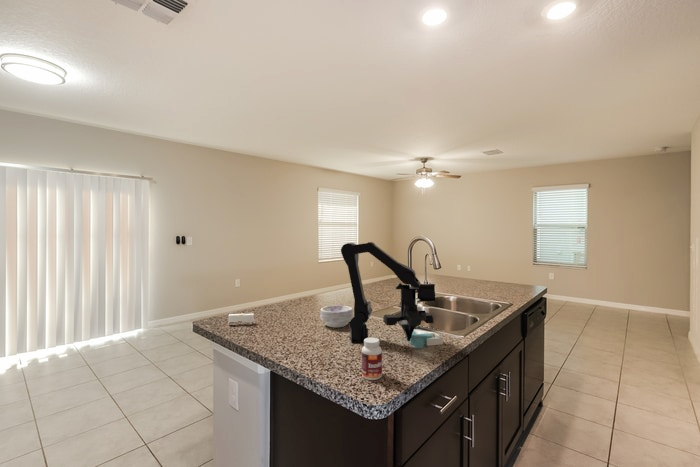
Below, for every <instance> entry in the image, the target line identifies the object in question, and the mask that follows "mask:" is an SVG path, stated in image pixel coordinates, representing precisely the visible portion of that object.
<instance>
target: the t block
mask: <svg viewBox="0 0 700 467" xmlns="http://www.w3.org/2000/svg"><path fill="white" fill-rule="evenodd" d="M429 333H430V332H428V333H427V334H422V333H416V332H415V331H413V333H412V336H411V339H410V341H408V342H409V343H410V344H411V345H412V346H413V348H415V349H422V348H423V349H424V345H426V338H432V335H430V334H429Z"/></svg>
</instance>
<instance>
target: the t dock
mask: <svg viewBox="0 0 700 467" xmlns="http://www.w3.org/2000/svg"><path fill="white" fill-rule="evenodd" d="M428 333H429V334H430V335H432V338H426V344H425V345H426V346H438V345H440V346H441V345H443V344H444V342H443V341H444V340H443V337H442V336H441V335H439V334H437V332H428ZM421 334H427V333H426V332H425V333H423V332H422V333H421Z"/></svg>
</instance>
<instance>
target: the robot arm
mask: <svg viewBox="0 0 700 467" xmlns="http://www.w3.org/2000/svg"><path fill="white" fill-rule="evenodd" d="M340 252H341V256H342V259H343V261H344V262H345V264H346V266H347V269H348V274H349V275H348V276H349V280H350V284H351V290H352V294H353V298H354V299H353V300H354V304H353V318H352V319H351V320H350V321H349V322H348V325H349V329H350V330H349V340H350V342H351V344H357V343H364V339H366V338H369V329H368V327H367V324H366V323H367V322H368V320H369V318H370V317H371V316H372V313H373V308H372V302H371V300H369V301H367V299H366V296H365V292H364V288H363V287H364V286H363V283H362V282H363V281H362V276H361V272H360V266H359V256H360V255H359V254H364V253H369V254H370V255H371V256H373V257H374V258H375V259H377V260H378V261H380V262H381V263H382V264H383V265H384V266H386V267H387V268H389V269H390V270H391V271H392V272H393V274H394V275H396V277H397V278H398V279H399V280H400V281H401V282H399V283H398V285H396V287H395V289H396V290H400V302H399V305H400V313H399V316H396V315H395V314H394V313H393V314H391V313H390V314H384V315H383V317H382V318H383V323H384V324H385V325H386V326H396V325H397V324H398V325H399V326H400V327H401V328H402V330H403V333H404V335H405V338H406V341H407V342H409V341H410V339H411V336H412V333H413V332H415V329H416V328H415V327H417V326H418V327H419V326H420V325H421V324H422V321H423V322H424V323H425V324H434V323H435V322H434V320H435V318H434V316H433V315H432V314H430V313H429V312H426V310H417V305H416V300H419V301H420V302H426V303H427V302H428V303H436V289H435V286H436V285H435V283H422V282H420V280H419V279H418V278H417V275H416V273H417V272H416V271H415V270H414V269H413V268H412V267H409V266H408V265H405V264H403V263H401V262H398V260H396V259H394V258H393V257H392V256H391V255H390V254H388V253H387V252H386V251H385V250H383V249H382V248H380V247H379V246H377V244H375V243H374V242H372V241H370V242H369V241H368V242H367V243H359V244H356V243H355V242H347V243H344V244H343V245H342V246H341V248H340ZM402 283H403V284H402ZM416 298H417V299H416Z"/></svg>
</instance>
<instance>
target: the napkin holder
mask: <svg viewBox="0 0 700 467" xmlns="http://www.w3.org/2000/svg"><path fill="white" fill-rule="evenodd" d="M254 315H255V314H254V312H253V313H242V312H241V313H229V314H228V323H229V322H238V321H243V322H253V321H254V322H255V316H254Z"/></svg>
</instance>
